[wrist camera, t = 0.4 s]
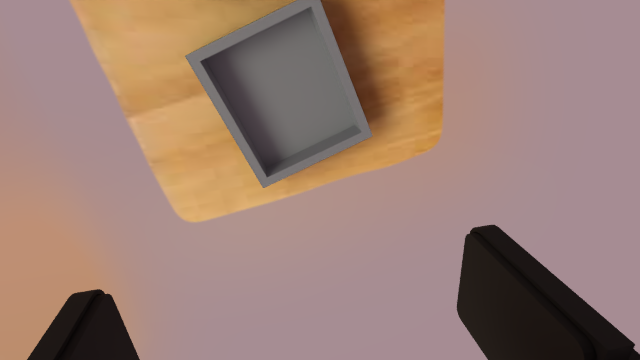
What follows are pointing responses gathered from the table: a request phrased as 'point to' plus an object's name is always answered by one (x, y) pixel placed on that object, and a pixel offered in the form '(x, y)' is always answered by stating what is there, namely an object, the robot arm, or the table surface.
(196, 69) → the big crate
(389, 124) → the table surface
